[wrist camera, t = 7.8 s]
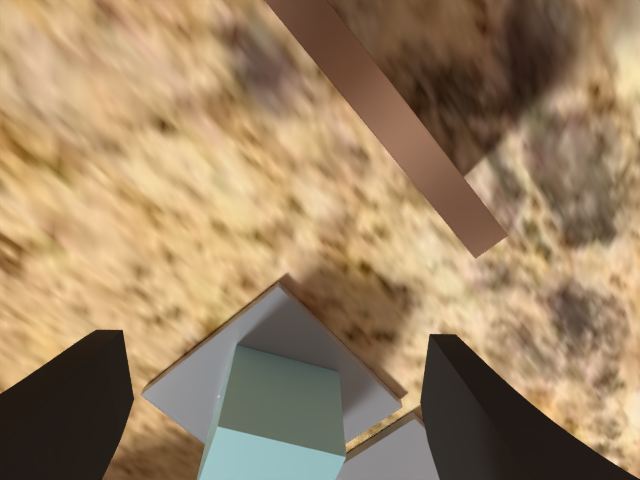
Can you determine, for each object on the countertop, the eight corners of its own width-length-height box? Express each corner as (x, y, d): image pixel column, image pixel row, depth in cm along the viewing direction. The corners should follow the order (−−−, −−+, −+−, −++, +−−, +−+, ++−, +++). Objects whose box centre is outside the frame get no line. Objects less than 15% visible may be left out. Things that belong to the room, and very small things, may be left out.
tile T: (400, 399, 25) (402, 407, 24) (269, 485, 27) (268, 494, 26) (279, 280, 22) (278, 286, 21) (143, 388, 24) (140, 395, 23)
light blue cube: (341, 372, 23) (350, 458, 19) (308, 447, 25) (308, 542, 20) (236, 344, 22) (217, 426, 18) (210, 424, 24) (187, 516, 20)
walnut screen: (466, 176, 20) (519, 227, 15) (180, 395, 24) (146, 492, 19) (106, -294, 14) (-7, -472, 9) (-188, 103, 18) (-377, 131, 13)
